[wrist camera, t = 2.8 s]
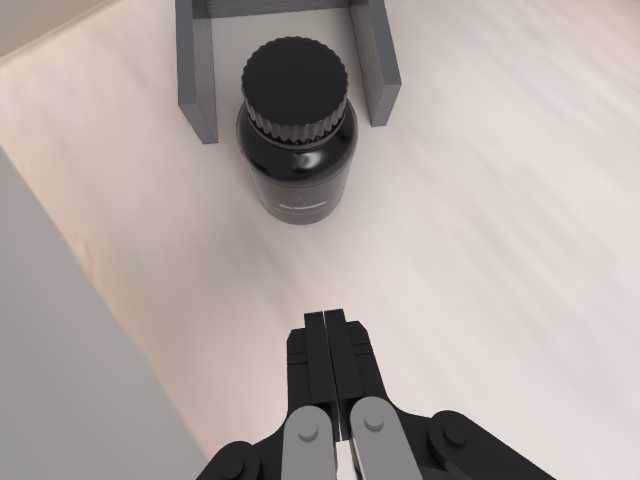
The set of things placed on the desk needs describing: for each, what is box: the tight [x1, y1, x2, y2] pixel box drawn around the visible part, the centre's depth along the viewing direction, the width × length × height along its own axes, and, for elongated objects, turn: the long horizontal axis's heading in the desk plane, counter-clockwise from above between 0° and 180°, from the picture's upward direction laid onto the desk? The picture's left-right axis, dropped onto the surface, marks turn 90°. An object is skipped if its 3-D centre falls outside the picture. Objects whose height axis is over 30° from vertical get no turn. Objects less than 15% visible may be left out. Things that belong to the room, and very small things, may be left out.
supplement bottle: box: [236, 36, 358, 225], centre depth 20 cm, size 7×7×12 cm
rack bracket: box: [175, 0, 402, 144], centre depth 26 cm, size 14×15×5 cm
